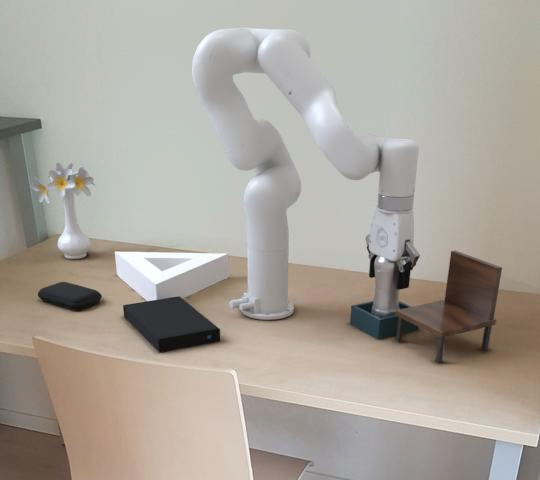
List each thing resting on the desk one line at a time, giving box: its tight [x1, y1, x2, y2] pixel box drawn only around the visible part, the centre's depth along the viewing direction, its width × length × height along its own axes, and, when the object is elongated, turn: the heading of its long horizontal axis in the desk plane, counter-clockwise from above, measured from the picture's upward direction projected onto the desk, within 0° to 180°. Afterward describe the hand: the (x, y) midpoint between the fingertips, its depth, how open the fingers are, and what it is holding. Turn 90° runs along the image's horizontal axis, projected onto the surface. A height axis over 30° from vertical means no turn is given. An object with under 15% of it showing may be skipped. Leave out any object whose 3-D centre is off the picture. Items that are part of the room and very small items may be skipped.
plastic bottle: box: [371, 256, 405, 318], centre depth 175 cm, size 6×7×20 cm
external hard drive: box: [122, 296, 221, 353], centre depth 177 cm, size 14×23×3 cm, turn 27°
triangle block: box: [114, 251, 230, 302], centre depth 203 cm, size 30×26×6 cm
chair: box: [395, 250, 503, 364], centre depth 166 cm, size 15×15×18 cm
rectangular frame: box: [349, 300, 420, 340], centre depth 179 cm, size 12×11×4 cm
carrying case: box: [37, 281, 103, 311], centre depth 192 cm, size 11×3×15 cm
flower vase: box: [29, 160, 96, 260], centre depth 217 cm, size 13×18×25 cm
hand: (388, 282), depth 175 cm, fingers open, 9 cm apart
